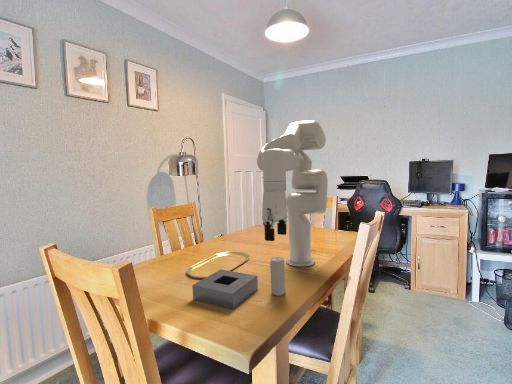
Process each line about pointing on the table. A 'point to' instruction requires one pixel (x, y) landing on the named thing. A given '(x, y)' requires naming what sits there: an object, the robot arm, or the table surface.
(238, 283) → the socket block
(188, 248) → the table surface
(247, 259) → the gold oval ring
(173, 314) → the table surface
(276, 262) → the beverage can
